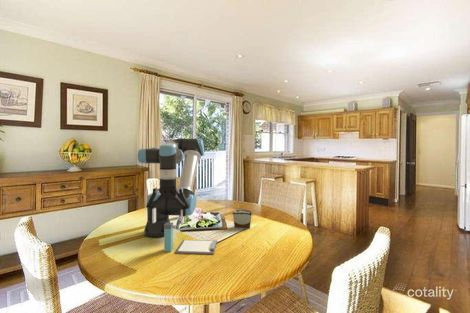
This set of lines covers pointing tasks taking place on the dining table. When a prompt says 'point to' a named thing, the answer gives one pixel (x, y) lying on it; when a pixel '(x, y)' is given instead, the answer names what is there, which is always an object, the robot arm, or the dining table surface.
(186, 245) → the clipboard
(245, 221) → the food container
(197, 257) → the dining table surface
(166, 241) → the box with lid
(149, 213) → the robot arm
